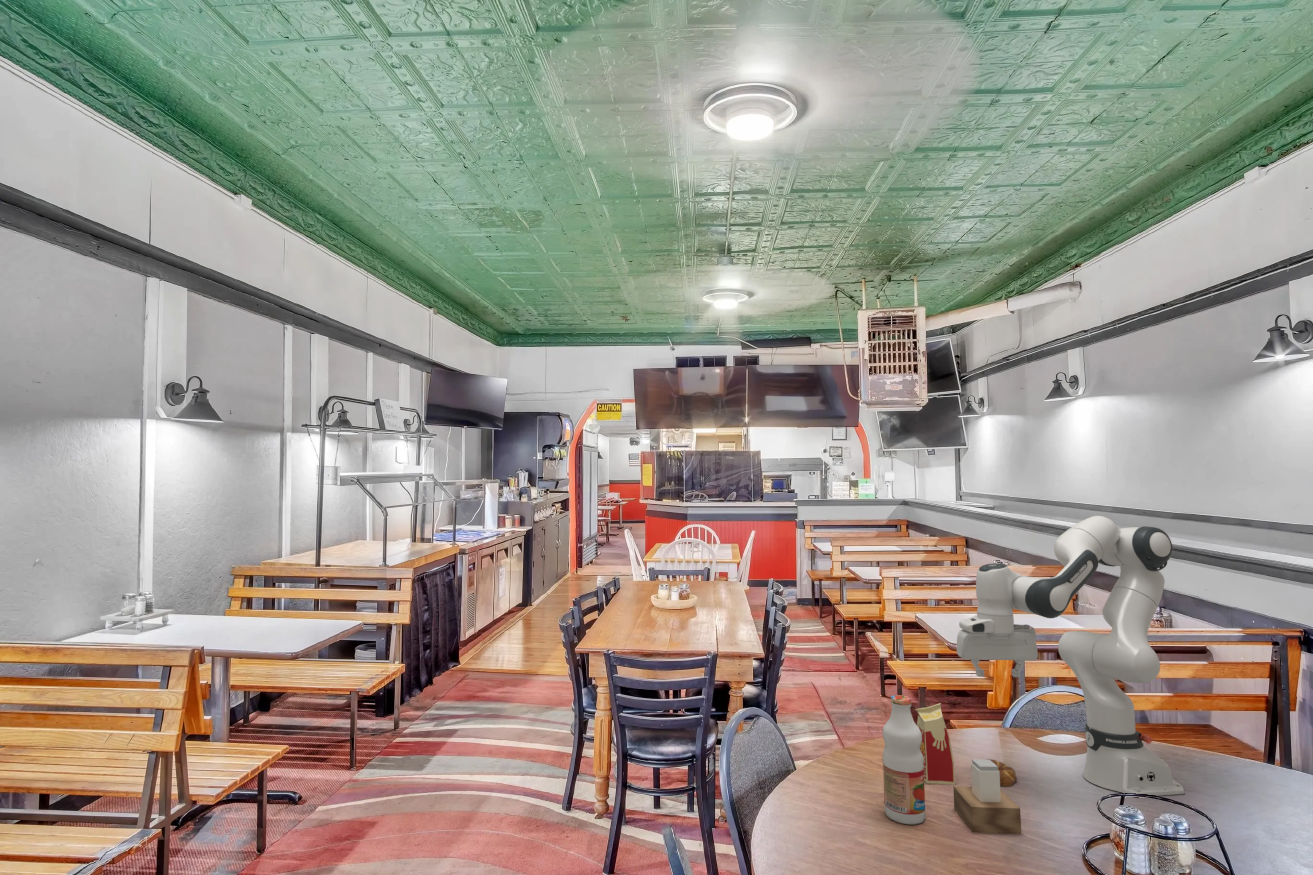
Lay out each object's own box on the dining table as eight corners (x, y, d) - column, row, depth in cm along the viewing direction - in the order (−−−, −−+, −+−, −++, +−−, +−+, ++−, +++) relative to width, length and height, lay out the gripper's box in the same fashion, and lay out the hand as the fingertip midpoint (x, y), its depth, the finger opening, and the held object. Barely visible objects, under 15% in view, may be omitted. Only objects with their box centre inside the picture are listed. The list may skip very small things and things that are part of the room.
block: (1000, 812, 161) (998, 787, 162) (1021, 835, 150) (1020, 808, 151) (954, 811, 162) (953, 785, 163) (972, 833, 151) (971, 806, 152)
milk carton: (945, 771, 185) (942, 698, 187) (957, 785, 176) (953, 708, 178) (912, 769, 186) (909, 697, 188) (922, 783, 177) (919, 707, 179)
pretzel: (1026, 788, 175) (1026, 774, 175) (984, 787, 175) (984, 773, 176) (1005, 769, 187) (1005, 756, 187) (966, 768, 187) (966, 755, 188)
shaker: (991, 793, 159) (990, 759, 159) (1000, 802, 154) (999, 766, 155) (972, 793, 159) (970, 758, 160) (981, 801, 154) (979, 766, 155)
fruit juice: (883, 804, 165) (880, 690, 168) (923, 809, 162) (919, 693, 165) (885, 822, 156) (881, 701, 159) (927, 828, 153) (922, 705, 156)
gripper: (1029, 622, 180) (1031, 673, 179) (953, 621, 182) (955, 672, 180) (1041, 626, 174) (1043, 680, 173) (962, 625, 176) (964, 678, 174)
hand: (998, 676), depth 177 cm, fingers open, 8 cm apart
